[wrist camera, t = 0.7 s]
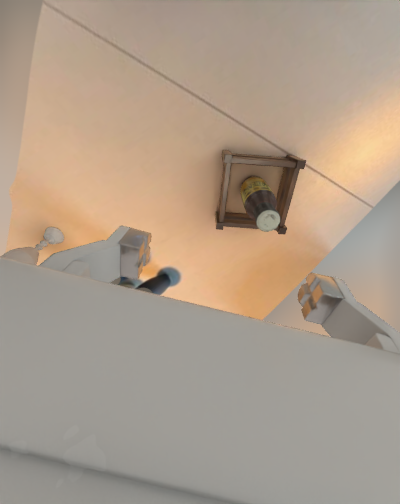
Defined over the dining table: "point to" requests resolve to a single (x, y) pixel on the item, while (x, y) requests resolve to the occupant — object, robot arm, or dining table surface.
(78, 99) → the dining table surface
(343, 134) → the dining table surface
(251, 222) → the crate
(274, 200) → the sauce bottle
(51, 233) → the chalice
